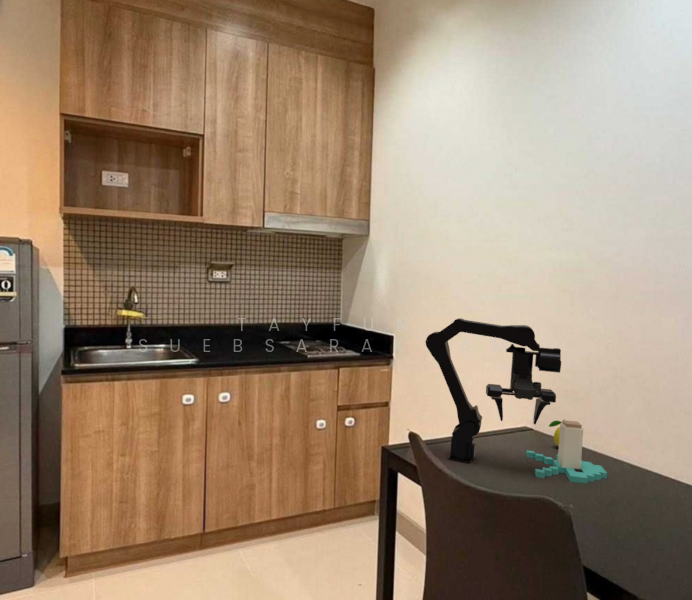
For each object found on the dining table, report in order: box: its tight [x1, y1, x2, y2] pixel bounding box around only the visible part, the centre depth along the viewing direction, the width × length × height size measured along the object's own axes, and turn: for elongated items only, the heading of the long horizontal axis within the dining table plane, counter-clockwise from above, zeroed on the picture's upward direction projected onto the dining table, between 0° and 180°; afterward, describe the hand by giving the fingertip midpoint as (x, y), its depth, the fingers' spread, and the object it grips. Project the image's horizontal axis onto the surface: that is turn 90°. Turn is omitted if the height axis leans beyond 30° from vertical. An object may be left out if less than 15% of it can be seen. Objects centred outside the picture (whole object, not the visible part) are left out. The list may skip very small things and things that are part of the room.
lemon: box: [548, 418, 566, 447], centre depth 175 cm, size 7×6×10 cm
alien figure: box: [525, 450, 608, 485], centre depth 154 cm, size 20×2×20 cm
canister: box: [557, 419, 584, 469], centre depth 153 cm, size 5×5×12 cm
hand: (517, 422), depth 153 cm, fingers open, 9 cm apart
